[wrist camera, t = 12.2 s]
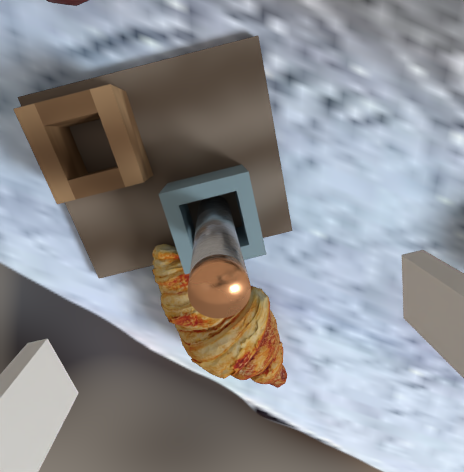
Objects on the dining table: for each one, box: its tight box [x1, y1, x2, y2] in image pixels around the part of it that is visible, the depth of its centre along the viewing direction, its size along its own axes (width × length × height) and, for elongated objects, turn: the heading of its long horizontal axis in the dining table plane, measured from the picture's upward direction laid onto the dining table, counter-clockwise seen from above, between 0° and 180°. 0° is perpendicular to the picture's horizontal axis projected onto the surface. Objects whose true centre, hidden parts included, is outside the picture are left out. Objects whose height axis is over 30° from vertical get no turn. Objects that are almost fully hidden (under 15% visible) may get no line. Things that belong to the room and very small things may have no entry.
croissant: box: [152, 244, 287, 388], centre depth 30 cm, size 21×10×8 cm, turn 39°
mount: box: [14, 84, 153, 204], centre depth 23 cm, size 7×7×4 cm
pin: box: [188, 195, 251, 318], centre depth 21 cm, size 3×3×15 cm
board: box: [18, 36, 292, 278], centre depth 27 cm, size 17×20×1 cm
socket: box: [159, 165, 266, 274], centre depth 26 cm, size 7×7×5 cm
